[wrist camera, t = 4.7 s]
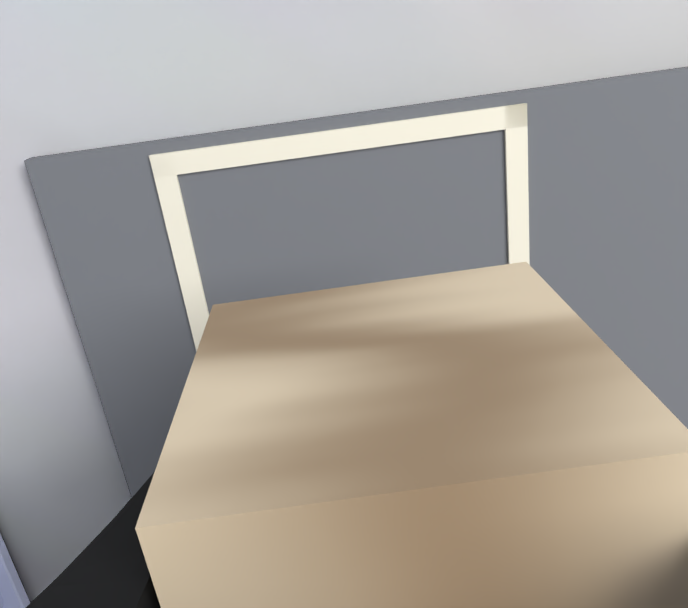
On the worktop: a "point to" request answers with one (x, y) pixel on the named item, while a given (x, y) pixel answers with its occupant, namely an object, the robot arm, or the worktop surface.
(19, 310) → the worktop surface
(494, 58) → the worktop surface
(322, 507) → the maple block
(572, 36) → the worktop surface
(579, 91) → the build mat
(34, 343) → the worktop surface
